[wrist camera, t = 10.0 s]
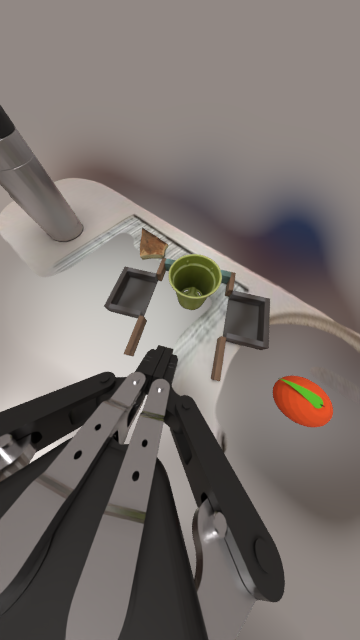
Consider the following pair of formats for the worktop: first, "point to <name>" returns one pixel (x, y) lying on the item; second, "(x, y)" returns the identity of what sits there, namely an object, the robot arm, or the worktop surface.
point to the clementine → (302, 401)
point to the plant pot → (194, 279)
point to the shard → (151, 246)
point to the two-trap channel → (240, 324)
